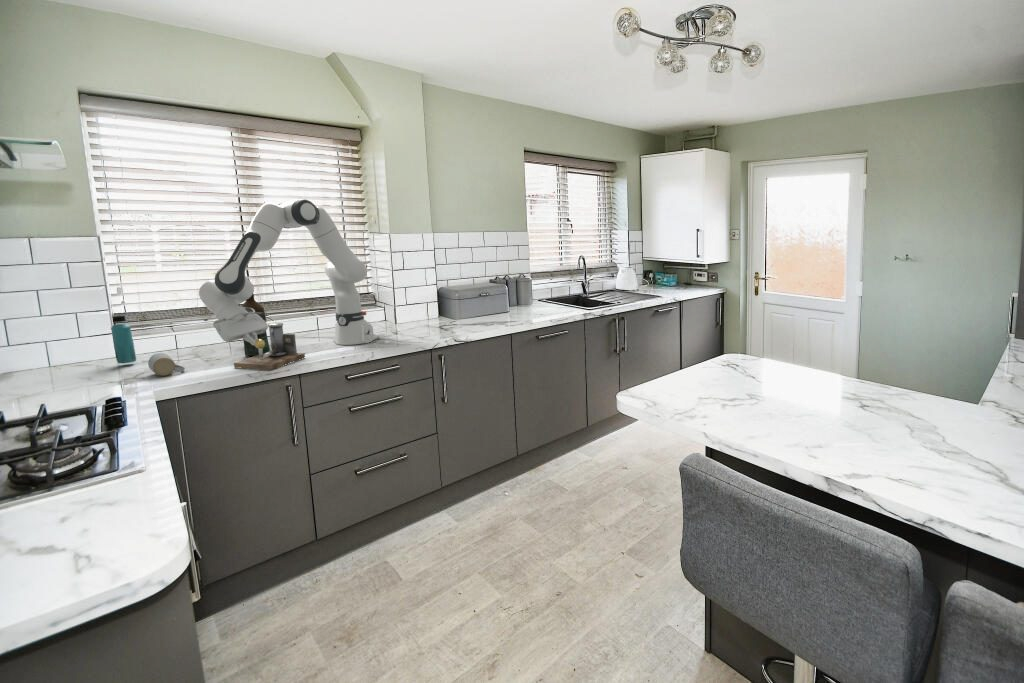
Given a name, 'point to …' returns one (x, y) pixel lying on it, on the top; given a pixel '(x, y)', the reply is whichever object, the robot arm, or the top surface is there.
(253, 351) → the coffee jar
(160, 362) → the ceramic mug
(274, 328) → the capstan
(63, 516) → the top surface
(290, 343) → the stand
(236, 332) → the robot arm
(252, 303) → the olive oil
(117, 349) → the beverage bottle
